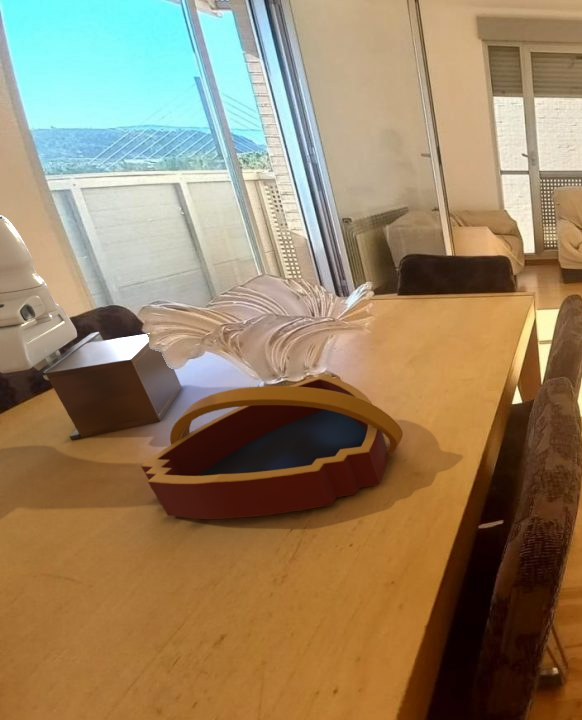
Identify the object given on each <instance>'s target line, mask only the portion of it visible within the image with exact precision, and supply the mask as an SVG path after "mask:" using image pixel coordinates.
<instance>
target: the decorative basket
mask: <svg viewBox="0 0 582 720" xmlns="http://www.w3.org/2000/svg"><path fill="white" fill-rule="evenodd" d="M231 408H234V409H233V410H230V411H229V412H228V411H227V412H226V413H224V414H223V415H221V416H218V417H216V418H215V419H212V420H211V421H209V422H207V423H205V424H203V425H202V426H200V427H198V428H196V429H194V430H193V431H191V430H190V428H191V424H192V422H193V421H194V420H195V419H197V418H199V417H201V416H203V415H205V414H209V413H212V412H216V411H221V410H225V409H231ZM403 436H404V434H403V429H402V427H401V426H400V425H399V423H398V422H397V421H396V420H395V419H394V418H393V417H392V416H391V415H389V414H388V413H387V412H385V410H383V409H381V408H380V407H378V406H376V405H375V404H373V403H372V401H371V400H370V399H369V398H368V396H367V395H365V393H363V392H362V391H361V390H359V389H358V388H357V387H356V386H353V385H351V384H350V383H348V382H345V381H343V380H341V379H338V378H336V377H333V376H329V375H326V374H321V375H318V376H314V377H311V378H308V379H305V380H303V381H299V382H296V383H293V384H290V385H280V386H279V385H267V386H265V385H263V386H248V387H239V388H233V389H228V390H223V391H219V392H217V393H214V394H210V395H208V396H205V397H203V398H200V399H199V400H197V401H195V402H194V403H193V404H191V405H190V406H189V407H188V408H187V409H186V410H185V411H184V412H183V414H182V415H181V416H180V417H179V419H178V420H177V421H176V422H175V423H174V425H173V426H172V428H171V431H170V435H169V441H170V445H168V446H167V447H165V448H164V449H162V450H161V451H160V452H158V453H156V454H155V455H153V456H152V457H150V458H149V459H148V460H146V461H145V462H144V463H142V464H141V465H140V467H141V469H142V471H143V472H144V475H145V476H146V478H147V484H148V485H149V487H150V489H151V490H152V491H153V493H154V495H155V497H156V498H157V500H158V501H159V503H160V505H161V506H162V508H163V510H164V511H165V513H166V515H167V516H169V517H178V518H185V519H186V518H187V519H188V518H189V519H203V520H219V519H231V518H248V517H249V518H250V517H260V516H268V515H269V516H270V515H277V514H282V513H290V512H295V511H302V510H309V509H315V508H321V507H325V506H331V505H333V503H334V502H335V500H336V498H339V497H344V496H345V497H346V496H352V495H356V493H357V491H359V489H360V488H366V487H372V486H378V485H380V484H381V481H382V479H383V476H384V474H385V470H386V467H387V462H388V456H389V455H391V454H393V453H394V452H395V451H396V450H397V448H398V446H399V444H400V443H401V441H402V438H403ZM385 437H387V438H388V441H389V444H387V442H386V439H385Z"/></svg>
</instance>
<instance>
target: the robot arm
mask: <svg viewBox="0 0 582 720" xmlns="http://www.w3.org/2000/svg"><path fill="white" fill-rule="evenodd" d="M77 337H78V333H77V329H76V326H75V325H74V323H73V322H72V320H71V318H70V317H69V315H68V314H67V312H66V311H65V309H64V308H63V306H61V305H60V304H59V303H57V302H56V301H55V299H54V297H53V294H52V293H51V290H50V289H49V287H48V285H47V283H46V281H45V279H44V278H42V277H41V276H40V275H39V273H38V272H37V271H36V268H35V263H34V258H33V256H32V253H30V250H29V249H28V246H27V245H26V244H25V242H24V240H23V238H22V237H21V235H20V234H19V232H18V230H16V228H15V227H14V225H13V224H12V223H11V222H10V221H9V219H7V218H6V217H5V216H3V215H1V214H0V373H2V374H9V373H15V372H16V373H17V372H22V371H28V370H30V369H32V368H34V369H36V371H37V372H38V371H39V370H40V369H42V368H43V367H45V366H46V365H47V364H49V363H50V362H52V361H53V360H54V359H56V358H57V357H59V356H60V355H62V353H61V352H60V349H61V348H63V347H64V346H66V345H67V344H69V343H70V342H72V341H73V340H75V339H76V338H77ZM42 377H43V379H45V380H46V381H49V379H48V377H47V375H45V376H42Z"/></svg>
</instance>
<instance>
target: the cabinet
mask: <svg viewBox="0 0 582 720" xmlns="http://www.w3.org/2000/svg"><path fill="white" fill-rule="evenodd" d="M147 334H148V333H145V334H139V335H138V334H137V335H132V336H126V337H117V338H112V339H105V340H104V339H103V341H97V342H91V341H92V340H94V339H95V338H96V337H98V336H99V335H101V332H99V331H96V332H90V334H88V335H87V336H86V337H84V338H82V339H81V340H80V341H78V342H77V343H75V344H74V345H73V346H71V347H70V348H68V349H67V350H66V351H64V352H63V353H61V355H60V356H59V357H57V358H56V359H54V360H53V361H52V362H50V363H49V364H47V365H46V366H45V367H43V368H42V369H40V370H39V371H38V370H37V371H36V372H35V373H33V375H34V377H35V378H38V377H43V376H45V375H47V377H48V379H49V380H48V381H49V383H50V384H51V386H52V388H53V389H54V391H55V394H56V396H57V397H58V399H59V400H60V403H61V404H62V406H63V408H64V409H65V412H66V413H67V415H68V416H69V418H70V420H71V423H72V424H73V426H74V427H75V430H74V431H72V433H71V434H70V435H69V439H70V440H71V441H74V440H78V439H84V438H88V437H92V436H98V435H102V434H106V433H112V432H116V431H121V430H125V429H130V428H135V427H140V426H145V425H150V424H155V423H158V422H161V420H162V419H163V418H164V416H165V415H166V413H167V411H168V410H169V408H170V407H171V406H172V403H173V402H174V401H175V399H176V397H178V395H179V393H180V391H181V390H182V388H183V386H182V385H181V382H180V380H179V378H178V375H177V373H176V371H175V368H174V369H171V368H169V367H168V366H167V364H166V362H165V360H164V358H163V356H162V353H161V352H159V351H155V350H152V349H150V347H149V337H148V335H147ZM90 342H91V343H90Z"/></svg>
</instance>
